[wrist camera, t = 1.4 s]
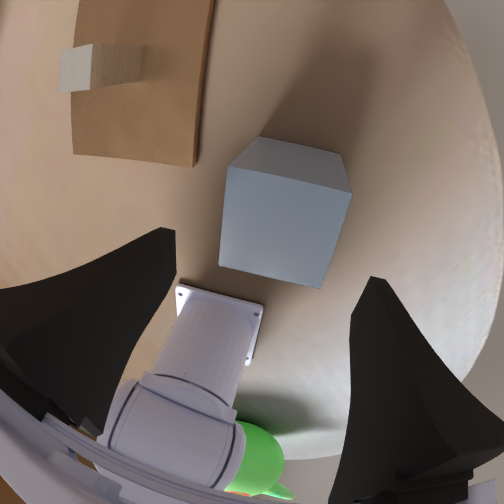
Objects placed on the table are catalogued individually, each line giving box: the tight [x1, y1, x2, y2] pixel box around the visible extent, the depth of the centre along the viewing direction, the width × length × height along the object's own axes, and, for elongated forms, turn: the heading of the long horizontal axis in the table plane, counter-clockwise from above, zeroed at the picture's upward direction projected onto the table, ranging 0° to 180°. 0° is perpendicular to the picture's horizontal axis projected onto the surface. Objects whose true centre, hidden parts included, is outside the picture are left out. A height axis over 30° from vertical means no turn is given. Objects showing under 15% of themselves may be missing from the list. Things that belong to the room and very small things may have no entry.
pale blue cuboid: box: [219, 136, 352, 289], centre depth 15 cm, size 5×5×7 cm
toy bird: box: [224, 420, 295, 499], centre depth 36 cm, size 18×17×15 cm
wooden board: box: [59, 0, 215, 168], centre depth 13 cm, size 14×11×6 cm
